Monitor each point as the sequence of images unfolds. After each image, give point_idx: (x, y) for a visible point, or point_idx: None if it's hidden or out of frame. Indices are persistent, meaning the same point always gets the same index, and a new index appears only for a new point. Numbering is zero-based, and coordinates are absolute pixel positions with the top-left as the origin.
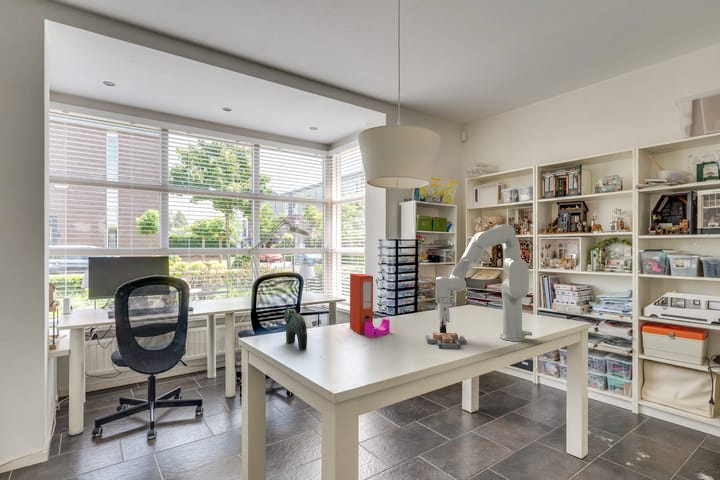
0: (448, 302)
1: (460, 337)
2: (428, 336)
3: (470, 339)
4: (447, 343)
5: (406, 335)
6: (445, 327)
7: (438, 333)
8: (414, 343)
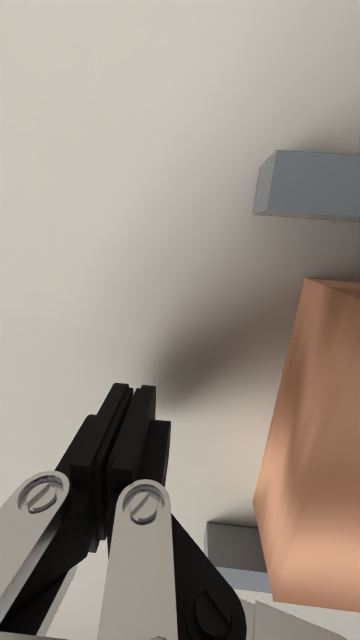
0: None
1: (314, 214)
2: (253, 575)
3: (247, 10)
4: None
5: (84, 620)
6: (166, 501)
7: (322, 559)
8: (323, 623)
